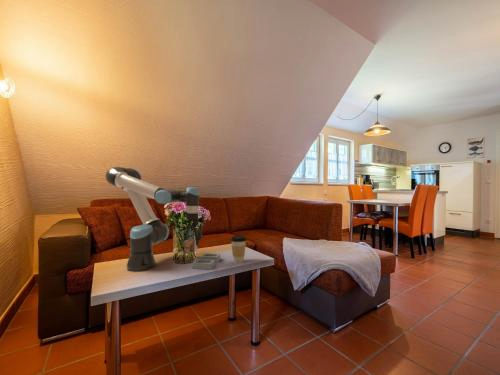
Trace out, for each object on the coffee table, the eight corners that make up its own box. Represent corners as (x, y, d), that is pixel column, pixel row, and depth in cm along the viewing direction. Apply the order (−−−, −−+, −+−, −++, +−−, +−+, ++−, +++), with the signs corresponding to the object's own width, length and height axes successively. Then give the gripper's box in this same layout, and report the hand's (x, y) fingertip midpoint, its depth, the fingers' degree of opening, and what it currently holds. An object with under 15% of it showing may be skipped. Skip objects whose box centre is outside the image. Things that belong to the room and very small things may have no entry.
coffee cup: (247, 258, 149) (247, 235, 149) (245, 263, 139) (245, 238, 139) (232, 258, 150) (232, 235, 150) (229, 263, 140) (229, 238, 140)
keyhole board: (192, 268, 131) (192, 262, 131) (203, 258, 151) (203, 253, 151) (211, 269, 130) (211, 263, 130) (220, 258, 150) (220, 253, 150)
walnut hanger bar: (180, 255, 133) (181, 243, 133) (192, 247, 151) (193, 236, 151) (189, 256, 132) (189, 243, 132) (200, 247, 151) (200, 236, 151)
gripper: (175, 212, 139) (174, 251, 139) (204, 213, 137) (203, 253, 137) (180, 211, 147) (179, 248, 147) (208, 212, 144) (207, 249, 144)
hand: (191, 250), depth 142 cm, fingers closed on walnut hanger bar, 5 cm apart
